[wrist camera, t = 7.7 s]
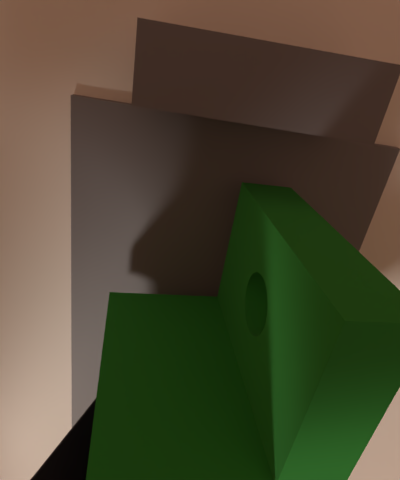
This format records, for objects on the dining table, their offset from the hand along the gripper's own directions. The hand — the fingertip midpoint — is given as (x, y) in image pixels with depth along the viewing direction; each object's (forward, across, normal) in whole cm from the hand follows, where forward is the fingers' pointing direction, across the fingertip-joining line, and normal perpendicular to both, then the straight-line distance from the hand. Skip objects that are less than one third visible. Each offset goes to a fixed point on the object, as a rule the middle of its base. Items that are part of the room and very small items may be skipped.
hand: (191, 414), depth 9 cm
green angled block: (+2, 0, 0) cm, 2 cm away
